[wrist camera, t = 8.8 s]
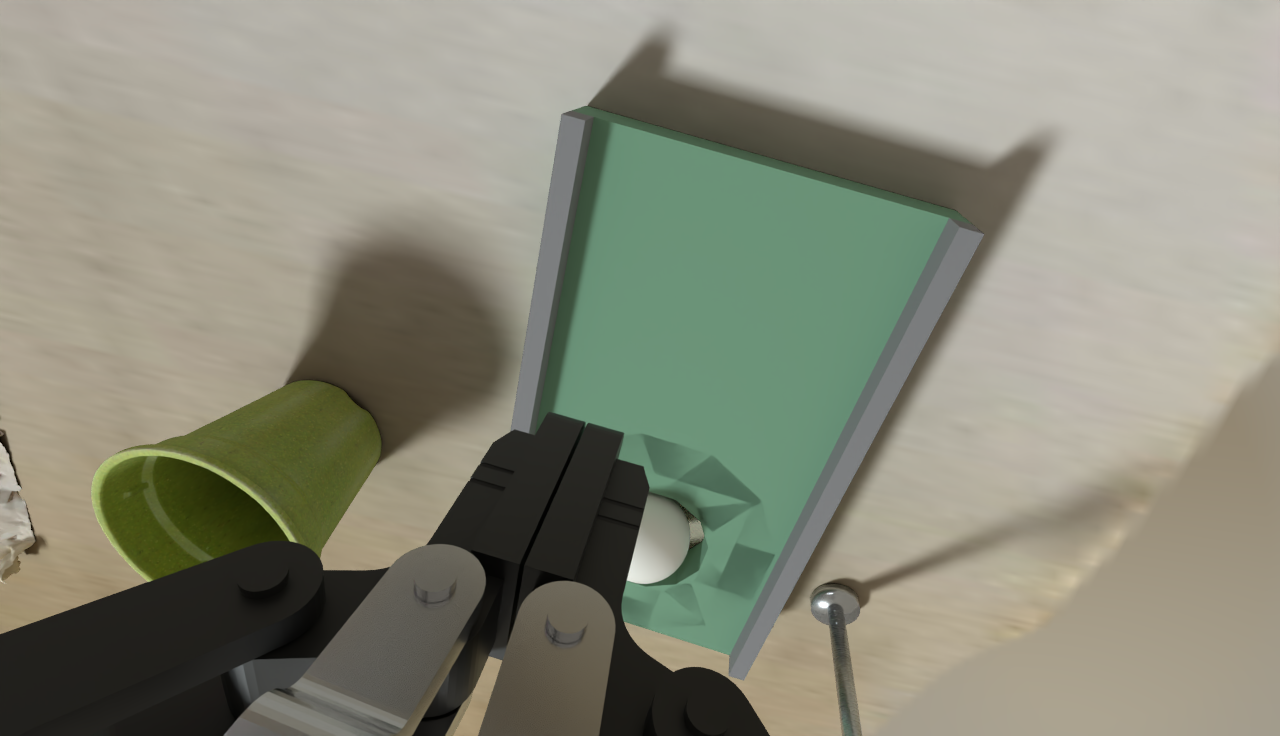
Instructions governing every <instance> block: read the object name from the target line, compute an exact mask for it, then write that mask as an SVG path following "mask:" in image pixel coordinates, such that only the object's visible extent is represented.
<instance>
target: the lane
mask: <svg viewBox="0 0 1280 736" xmlns="http://www.w3.org/2000/svg"><path fill="white" fill-rule="evenodd" d="M983 236H984V233H982V232H981V231H980V230H979V229H977V228H976V227H975V226H974V225H973V224H971V223H970V222H969V221H968V220H967V219H965V218H964V217H963V216H962V215H961V214H959V213H958V212H957V211H956V210H952V209H949V208H945V207H942V206H938V205H935V204H931V203H928V202H924V201H920V200H917V199H913V198H910V197H906V196H903V195H899V194H896V193H892V192H889V191H885V190H882V189H878V188H875V187H871V186H868V185H864V184H860V183H857V182H853V181H850V180H846V179H843V178H839V177H836V176H832V175H829V174H825V173H822V172H818V171H815V170H811V169H808V168H804V167H800V166H797V165H793V164H790V163H786V162H783V161H779V160H776V159H772V158H769V157H765V156H762V155H758V154H755V153H751V152H748V151H744V150H740V149H737V148H733V147H730V146H726V145H723V144H719V143H716V142H712V141H709V140H705V139H702V138H698V137H695V136H691V135H688V134H684V133H681V132H677V131H673V130H670V129H666V128H663V127H659V126H656V125H652V124H649V123H645V122H642V121H638V120H635V119H631V118H628V117H624V116H621V115H617V114H613V113H610V112H606V111H603V110H599V109H596V108H592V107H589V106H584V107H581V108H578V109H575V110H572V111H569V112H566V113H563V114H562V115H561V121H560V127H559V133H558V140H557V146H556V152H555V158H554V165H553V171H552V177H551V183H550V189H549V196H548V202H547V208H546V214H545V220H544V227H543V233H542V239H541V245H540V252H539V258H538V264H537V270H536V276H535V283H534V289H533V295H532V301H531V307H530V314H529V320H528V326H527V332H526V339H525V345H524V351H523V357H522V363H521V370H520V376H519V382H518V388H517V394H516V401H515V407H514V413H513V419H512V425H511V431H513V430H514V429H515V430H519V431H522V432H526V433H529V434H532V435H535V434H536V432H537V431H538V429H539V427H540V425H541V423H542V422H543V420H544V418H545V416H546V415H547V413H548V412H553V413H556V414H560V415H563V416H567V417H570V418H574V419H577V420H581V421H584V422H586V425H587V424H588V423H592V424H595V425H599V426H602V427H606V428H609V429H613V430H616V431H620V432H623V433H624V438H623V442H622V446H621V450H620V454H619V458H618V459H620V460H623V461H627V462H630V463H634V464H637V465H641V466H644V470H645V473H646V477H647V480H648V484H649V487H650V489H649V492H652V493H655V494H658V495H662V496H665V497H668V498H671V499H674V500H677V501H678V502H679V503H680V504H681V505H682V506H683V507H685V508H686V509H687V510H688V511H689V512H690V513H691V514H692V515H694V516H695V517H696V518H697V519H698V520H699V521H700V522H701V525H702V528H703V532H704V535H705V536H704V539H703V541H702V542H701V543H699V544H697V545H696V546H694V547H693V548H691V549H689V550H688V552H687V555H686V557H685V559H684V561H683V562H682V564H681V565H680V567H679V568H678V569H677V570H676V571H675V572H674V573H673V574H671V575H670V576H669V577H667V578H665V579H663V580H661V581H658V582H655V583H649V584H639V583H634V582H630V581H626V585H625V590H624V594H623V598H622V604H621V605H622V616H623V621H624V622H627V623H630V624H633V625H636V626H639V627H643V628H646V629H649V630H652V631H655V632H658V633H661V634H665V635H668V636H671V637H674V638H677V639H680V640H683V641H687V642H690V643H693V644H696V645H699V646H702V647H705V648H709V649H712V650H715V651H718V652H721V653H724V654H728V655H730V658H729V676H731V677H734V678H737V679H740V680H744V679H745V677H746V675H747V673H748V672H749V670H750V668H751V666H752V664H753V662H754V660H755V659H756V657H757V655H758V653H759V651H760V649H761V648H762V646H763V644H764V642H765V640H766V638H767V636H768V635H769V633H770V631H771V629H772V627H773V625H774V623H775V622H776V620H777V618H778V616H779V614H780V612H781V610H782V609H783V607H784V605H785V603H786V601H787V599H788V597H789V596H790V594H791V592H792V590H793V588H794V586H795V584H796V583H797V581H798V579H799V577H800V575H801V573H802V571H803V570H804V568H805V566H806V564H807V562H808V560H809V559H810V557H811V555H812V553H813V551H814V549H815V547H816V546H817V544H818V542H819V540H820V538H821V536H822V534H823V533H824V531H825V529H826V527H827V525H828V523H829V521H830V520H831V518H832V516H833V514H834V512H835V510H836V508H837V507H838V505H839V503H840V501H841V499H842V497H843V495H844V494H845V492H846V490H847V488H848V486H849V484H850V483H851V481H852V479H853V477H854V475H855V473H856V471H857V470H858V468H859V466H860V464H861V462H862V460H863V458H864V457H865V455H866V453H867V451H868V449H869V447H870V445H871V444H872V442H873V440H874V438H875V436H876V434H877V432H878V431H879V429H880V427H881V425H882V423H883V421H884V419H885V418H886V416H887V414H888V412H889V410H890V408H891V406H892V405H893V403H894V401H895V399H896V397H897V395H898V394H899V392H900V390H901V388H902V386H903V384H904V382H905V381H906V379H907V377H908V375H909V373H910V371H911V369H912V368H913V366H914V364H915V362H916V360H917V358H918V356H919V355H920V353H921V351H922V349H923V347H924V345H925V343H926V342H927V340H928V338H929V336H930V334H931V332H932V330H933V329H934V327H935V325H936V323H937V321H938V319H939V318H940V316H941V314H942V312H943V310H944V308H945V306H946V305H947V303H948V301H949V299H950V297H951V295H952V293H953V292H954V290H955V288H956V286H957V284H958V282H959V280H960V279H961V277H962V275H963V273H964V271H965V269H966V267H967V266H968V264H969V262H970V260H971V258H972V256H973V254H974V253H975V251H976V249H977V247H978V245H979V243H980V241H981V240H982V238H983Z"/></svg>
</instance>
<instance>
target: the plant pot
mask: <svg viewBox="0 0 1280 736" xmlns="http://www.w3.org/2000/svg"><path fill="white" fill-rule="evenodd" d="M380 454H381V437H380V433H379V430H378V427H377V425H376V423H375V421H374V419H373V418H372V416H371V415H370V413H369V412H367V411H366V410H364V409H362V408H360V407H359V406H358V405H357V404H355V403H354V402H353V401H352V400H351V399H350V398H349V396H348V395H347V393H346V392H345V391H344V390H342V389H340V388H338V387H336V386H333V385H331V384H328V383H325V382H320V381H314V380H302V381H296V382H292V383H290V384H288V385H286V386H284V387H282V388H280V389H278V390H276V391H274V392H272V393H270V394H268V395H266V396H264V397H262V398H260V399H258V400H256V401H254V402H252V403H250V404H248V405H246V406H244V407H242V408H240V409H238V410H236V411H234V412H232V413H230V414H228V415H226V416H224V417H222V418H220V419H218V420H216V421H214V422H212V423H210V424H207V425H205V426H203V427H201V428H199V429H197V430H195V431H193V432H191V433H189V434H187V435H185V436H179V437H174V438H170V439H167V440H164V441H162V442H160V443H157V444H155V445H154V444H150V445H140V446H135V447H131V448H128V449H125V450H122V451H120V452H118V453H116V454H115V455H113V456H111V457H109V458H108V459H107V460H105V461H104V462H103V463H102V464H101V465H100V467H99V468H98V470H97V471H96V473H95V475H94V478H93V482H92V487H91V497H92V504H93V508H94V511H95V515H96V518H97V520H98V522H99V524H100V526H101V528H102V530H103V531H104V533H105V535H106V537H107V538H108V539H109V541H110V542H111V544H112V546H113V547H114V548H115V549H116V550H117V552H118V553H119V554H120V555H121V556H122V557H123V558H124V559H125V560H126V562H127V563H128V564H129V565H130V566H131V567H132V568H133V569H134V570H135V571H136V572H137V573H138V574H140V575H141V576H142V577H143V578H144V579H146V580H147V581H148V582H150V581H153V580H155V579H158V578H161V577H164V576H167V575H169V574H172V573H175V572H178V571H181V570H184V569H186V568H189V567H192V566H195V565H198V564H201V563H203V562H206V561H209V560H212V559H215V558H217V557H220V556H223V555H226V554H229V553H232V552H234V551H237V550H240V549H243V548H246V547H249V546H252V545H255V544H259V543H263V542H269V541H290V542H296V543H299V544H302V545H305V546H307V547H308V548H310V549H312V550H313V551H314V552H315V553H316V554H317V555H318V557H319V558H320V556H321V551H322V548H323V547H324V545H325V544H326V542H327V540H328V539H329V537H330V536H331V534H332V532H333V531H334V529H335V528H336V526H337V524H338V523H339V521H340V520H341V518H342V517H343V515H344V514H345V512H346V510H347V509H348V507H349V506H350V504H351V502H352V501H353V499H354V498H355V496H356V495H357V493H358V492H359V490H360V488H361V487H362V485H363V484H364V482H365V481H366V479H367V478H368V476H369V475H370V473H371V471H372V470H373V468H374V467H375V465H376V463H377V461H378V459H379V457H380Z"/></svg>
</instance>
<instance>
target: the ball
mask: <svg viewBox="0 0 1280 736" xmlns="http://www.w3.org/2000/svg"><path fill="white" fill-rule="evenodd" d="M689 545H690V527H689V523H688V520H687V517H686V515H685V513H684V511H683V509H682V508H681V506H680V505H679V504H678V503H677V502H676V501H675V500H674V499H671V498H668V497H665V496H662V495H658V494H655V493H652V492H649V493H648V497H647V501H646V505H645V509H644V512H643V517H642V521H641V525H640V529H639V533H638V537H637V541H636V545H635V549H634V553H633V557H632V561H631V565H630V569H629V573H628V577H627V581H630V582H634V583H639V584H649V583H655V582H658V581H661V580H663V579H665V578H667V577H669V576H670V575H671V574H673V573H674V572H675V571H676V570H677V569H678V568H679V567H680V565H681V564H682V562H683V561H684V559H685V557H686V555H687V552H688V549H689Z"/></svg>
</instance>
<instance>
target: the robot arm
mask: <svg viewBox="0 0 1280 736" xmlns="http://www.w3.org/2000/svg"><path fill="white" fill-rule="evenodd" d="M623 438H624V433H623V432H620V431H616V430H613V429H609V428H606V427H602V426H599V425H595V424H592V423H588V424H587V425H586V422H584V421H581V420H577V419H574V418H570V417H567V416H563V415H560V414H556V413H553V412H548V413H547V415H546V416H545V418H544V420H543V422H542V423H541V425H540V427H539V429H538V431H537V432H536V434H535V435H532V434H529V433H526V432H522V431H519V430H515V429H514V430H513V431H511V432H509V433H508V434H506V435H505V436H503V437H501V438H500V439H498V440H497V441H495V442H494V443H493V444H492V445H491V447H490V449H489V450H488V452H487V453H486V455H485V456H484V458H483V459H482V461H481V464H480V466H479V465H478V467H477V469H476V470H475V472H474V473H473V475H472V476H471V479H470V481H468V482H467V484H466V486H465V487H464V489H463V490H462V492H461V493H460V495H459V496H458V498H457V499H456V501H455V502H454V504H453V506H452V507H451V509H450V510H449V512H448V513H447V515H446V516H445V518H444V519H443V521H442V523H441V524H440V526H439V527H438V529H437V530H436V532H435V533H434V535H433V536H432V538H431V539H430V541H429V542H428V543H427V545H426V546H422V547H419V548H416V549H414V550H411V551H409V552H408V553H406V554H404V555H403V556H401V557H400V558H399V559H397V560H396V561H395V563H394V564H393V565H392V566H391V567H388V568H384V569H378V570H366V571H352V570H323V565H322V563H321V560H320V558H319V557H318V555H317V554H316V553H315V552H314V551H313V550H312V549H310V548H308V547H307V546H305V545H302V544H299V543H296V542H290V541H269V542H263V543H259V544H255V545H252V546H249V547H246V548H243V549H240V550H237V551H234V552H232V553H229V554H226V555H223V556H220V557H217V558H215V559H212V560H209V561H206V562H203V563H201V564H198V565H195V566H192V567H189V568H186V569H184V570H181V571H178V572H175V573H172V574H169V575H167V576H164V577H161V578H158V579H155V580H153V581H150V582H147V583H144V584H141V585H138V586H136V587H133V588H130V589H127V590H124V591H121V592H119V593H116V594H113V595H110V596H107V597H105V598H102V599H99V600H96V601H93V602H90V603H88V604H85V605H82V606H79V607H76V608H73V609H71V610H68V611H65V612H62V613H59V614H57V615H54V616H51V617H48V618H45V619H42V620H40V621H37V622H34V623H31V624H28V625H25V626H23V627H20V628H17V629H14V630H11V631H9V632H6V633H3V634H0V736H453V735H454V733H455V731H456V729H457V727H458V725H459V723H460V721H461V719H462V717H463V715H464V714H465V712H466V710H467V708H468V706H469V703H470V701H471V697H472V693H473V690H474V688H475V686H476V684H477V682H478V679H479V677H480V675H481V672H482V670H483V668H484V666H485V663H486V661H487V659H488V656H490V657H494V658H497V659H500V660H503V661H502V664H501V667H500V670H499V673H498V676H497V679H496V682H495V685H494V688H493V691H492V695H491V698H490V701H489V704H488V707H487V710H486V713H485V716H484V719H483V722H482V725H481V728H480V732H479V735H478V736H770V735H769V734H768V732H767V730H766V729H765V727H764V725H763V724H762V722H761V721H760V719H759V717H758V716H757V714H756V713H755V711H754V709H753V708H752V706H751V704H750V703H749V701H748V700H747V698H746V697H745V695H744V694H743V693H742V691H741V690H740V689H739V688H738V687H737V686H736V685H735V684H734V683H733V682H732V681H730V680H729V679H728V678H726V677H725V676H723V675H721V674H720V673H718V672H715V671H713V670H710V669H706V668H701V667H688V668H683V669H680V670H677V671H675V672H672V671H671V670H669V669H668V668H666V667H665V666H663V665H662V664H661V663H659V662H658V661H656V660H655V659H653V658H652V657H650V656H649V655H648V654H646V653H645V652H644V651H643V650H642V649H641V648H640V647H639V646H638V645H637V644H636V643H635V642H634V640H633V639H632V638H631V636H630V634H629V633H628V631H627V629H626V627H625V624H624V621H623V616H622V605H621V604H622V598H623V594H624V590H625V585H626V581H627V577H628V573H629V569H630V565H631V561H632V557H633V553H634V549H635V545H636V541H637V537H638V533H639V529H640V525H641V521H642V517H643V512H644V509H645V505H646V501H647V497H648V493H649V489H650V487H649V484H648V480H647V477H646V473H645V470H644V466H641V465H637V464H634V463H630V462H627V461H623V460H620V459H618V458H619V454H620V450H621V446H622V442H623Z"/></svg>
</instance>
